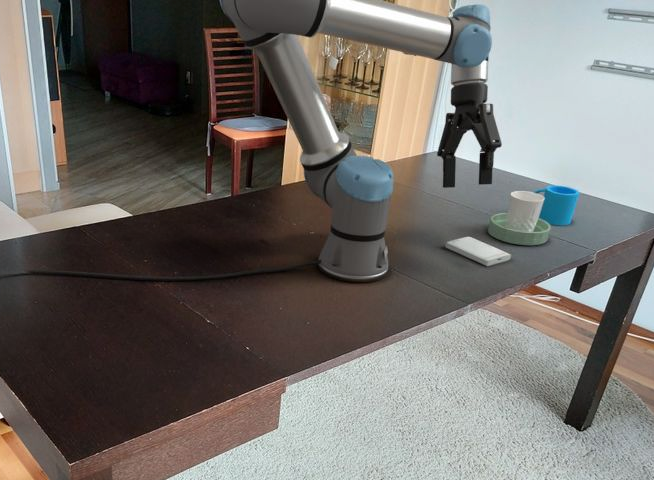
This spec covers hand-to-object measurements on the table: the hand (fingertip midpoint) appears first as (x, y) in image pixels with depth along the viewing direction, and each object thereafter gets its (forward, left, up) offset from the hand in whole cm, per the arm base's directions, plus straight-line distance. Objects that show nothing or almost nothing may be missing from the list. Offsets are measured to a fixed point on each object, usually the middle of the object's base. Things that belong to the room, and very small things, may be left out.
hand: (466, 186), depth 150 cm
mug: (+33, +28, -17) cm, 47 cm away
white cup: (+20, +14, -16) cm, 30 cm away
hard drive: (+6, +1, -17) cm, 18 cm away
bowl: (+20, +14, -17) cm, 30 cm away
